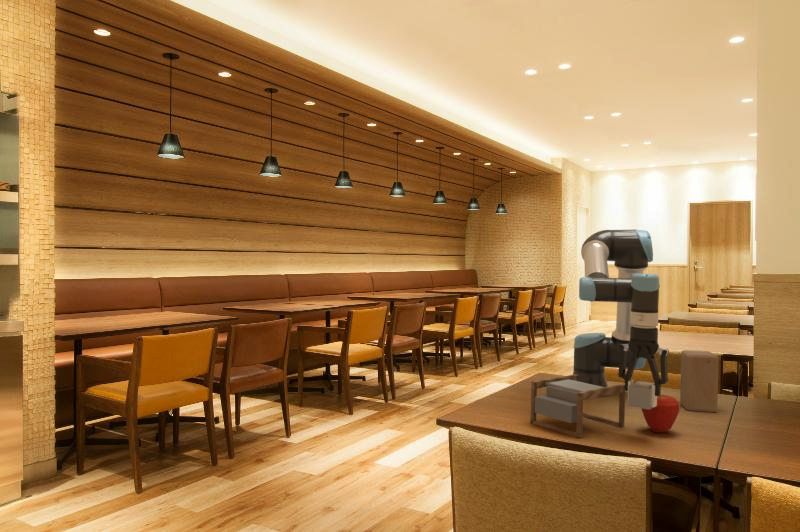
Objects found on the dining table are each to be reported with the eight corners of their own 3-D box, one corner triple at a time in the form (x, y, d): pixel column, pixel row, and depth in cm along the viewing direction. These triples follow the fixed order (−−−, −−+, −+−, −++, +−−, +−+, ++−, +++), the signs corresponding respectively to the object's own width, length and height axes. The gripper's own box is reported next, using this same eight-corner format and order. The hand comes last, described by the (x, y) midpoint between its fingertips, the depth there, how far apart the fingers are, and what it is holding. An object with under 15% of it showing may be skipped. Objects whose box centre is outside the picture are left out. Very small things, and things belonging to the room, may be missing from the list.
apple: (659, 438, 171) (660, 397, 171) (631, 428, 181) (632, 389, 181) (687, 434, 175) (688, 394, 175) (658, 425, 185) (659, 387, 185)
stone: (628, 405, 171) (628, 383, 171) (634, 401, 176) (635, 379, 176) (649, 409, 168) (650, 386, 167) (655, 405, 172) (656, 382, 172)
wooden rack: (579, 438, 170) (580, 393, 170) (530, 422, 185) (531, 381, 185) (624, 426, 183) (625, 384, 183) (574, 413, 198) (575, 374, 198)
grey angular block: (573, 423, 171) (574, 394, 170) (532, 411, 183) (533, 384, 183) (608, 415, 180) (609, 387, 180) (567, 404, 193) (568, 378, 193)
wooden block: (718, 413, 201) (719, 355, 201) (687, 411, 203) (688, 354, 203) (708, 406, 211) (710, 350, 211) (679, 404, 213) (680, 349, 213)
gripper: (607, 324, 174) (605, 401, 175) (675, 331, 162) (673, 413, 163) (615, 321, 180) (614, 396, 181) (682, 328, 168) (680, 407, 169)
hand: (642, 404), depth 172 cm, fingers closed on stone, 6 cm apart
